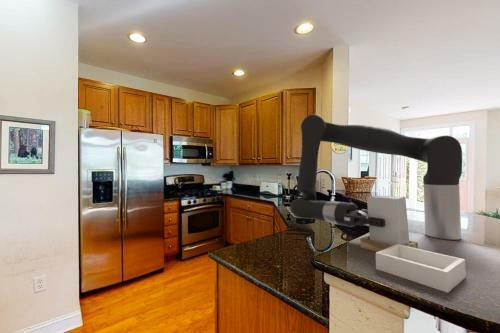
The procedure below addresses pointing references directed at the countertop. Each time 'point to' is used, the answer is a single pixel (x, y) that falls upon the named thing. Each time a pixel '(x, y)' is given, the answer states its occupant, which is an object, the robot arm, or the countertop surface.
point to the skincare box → (389, 219)
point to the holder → (380, 244)
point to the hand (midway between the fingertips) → (392, 221)
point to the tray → (422, 266)
